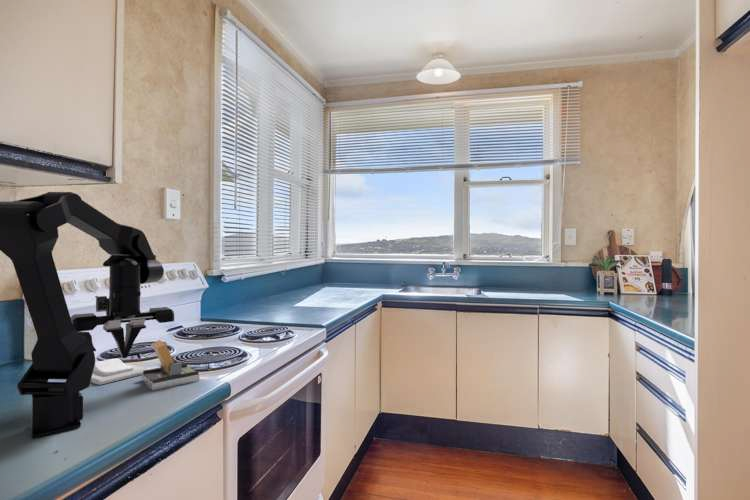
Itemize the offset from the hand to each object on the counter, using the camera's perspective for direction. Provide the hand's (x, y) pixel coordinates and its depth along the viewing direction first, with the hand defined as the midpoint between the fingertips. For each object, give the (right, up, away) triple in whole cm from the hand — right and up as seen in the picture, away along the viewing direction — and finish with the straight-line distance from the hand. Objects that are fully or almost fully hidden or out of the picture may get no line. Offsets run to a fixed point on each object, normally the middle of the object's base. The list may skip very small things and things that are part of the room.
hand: (124, 357), depth 87 cm
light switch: (-9, -8, +10) cm, 16 cm away
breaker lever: (+7, -5, +6) cm, 10 cm away
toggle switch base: (+7, -7, +6) cm, 12 cm away
